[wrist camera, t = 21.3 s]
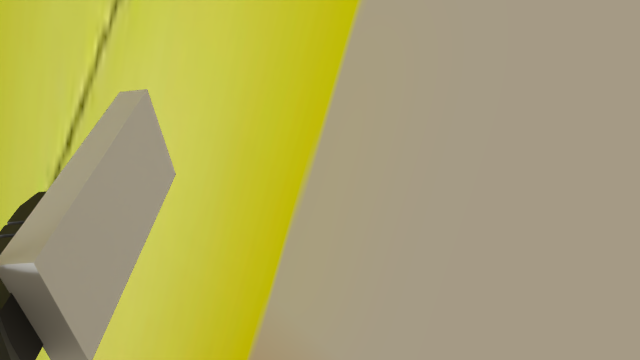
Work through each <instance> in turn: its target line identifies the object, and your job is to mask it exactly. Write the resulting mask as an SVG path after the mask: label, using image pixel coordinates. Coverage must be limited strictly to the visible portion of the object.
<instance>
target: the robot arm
mask: <svg viewBox="0 0 640 360" xmlns="http://www.w3.org/2000/svg"><path fill="white" fill-rule="evenodd" d="M175 175H176V174H175V171H174V168H173V165H172V162H171V159H170V156H169V153H168V150H167V147H166V144H165V141H164V138H163V135H162V132H161V129H160V126H159V123H158V120H157V117H156V114H155V111H154V108H153V105H152V102H151V99H150V96H149V93H148V90H147V89H145V90H135V91H125V92H119V94H118V95H117V97H116V98H115V99H114V101H113V102H112V103H111V105H110V106H109V107H108V109H107V110H106V112H105V113H104V114H103V116H102V117H101V118H100V120H99V121H98V122H97V124H96V125H95V126H94V128H93V129H92V131H91V132H90V133H89V135H88V136H87V137H86V139H85V140H84V141H83V143H82V144H81V146H80V147H79V148H78V150H77V151H76V152H75V154H74V155H73V156H72V158H71V159H70V161H69V162H68V163H67V165H66V166H65V167H64V169H63V170H62V171H61V173H60V174H59V176H58V177H57V178H56V180H55V181H54V182H53V184H52V185H51V186H50V188H49V189H48V191H47V192H38V193H37V194H35V195H34V196H33V197H31V198H30V199H29V200H28V201H26V202H25V203H24V204H22V205H21V206H20V207H19V208H18V209H17V210H16V212H15V213H14V214H13V216H12V217H11V218H10V220H9V221H8V222H7V223H8V225H5V226H4V227H3V229H2V230H1V231H0V360H35V359H36V358H37V356H38V354H39V352H40V350H41V349H42V347H43V348H44V349H45V351H46V353H47V354H48V356H49V358H50V359H51V360H92V359H93V357H94V355H95V353H96V350H97V348H98V346H99V344H100V341H101V339H102V337H103V335H104V333H105V330H106V328H107V326H108V324H109V322H110V319H111V317H112V315H113V313H114V310H115V308H116V306H117V304H118V302H119V299H120V297H121V295H122V293H123V290H124V288H125V286H126V284H127V282H128V279H129V277H130V275H131V273H132V270H133V268H134V266H135V264H136V262H137V259H138V257H139V255H140V253H141V250H142V248H143V246H144V244H145V242H146V239H147V237H148V235H149V233H150V230H151V228H152V226H153V224H154V222H155V219H156V217H157V215H158V213H159V210H160V208H161V206H162V204H163V202H164V199H165V197H166V195H167V193H168V190H169V188H170V186H171V184H172V182H173V179H174V177H175Z"/></svg>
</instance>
